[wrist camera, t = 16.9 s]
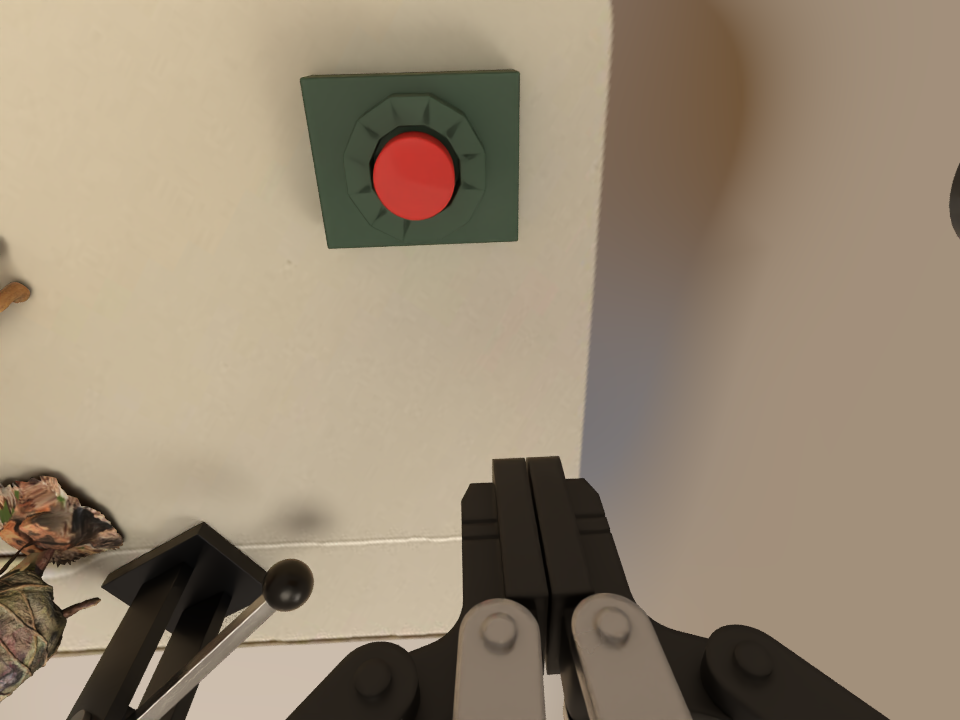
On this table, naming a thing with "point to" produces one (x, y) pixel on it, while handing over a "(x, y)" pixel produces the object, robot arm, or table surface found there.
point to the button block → (424, 108)
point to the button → (414, 176)
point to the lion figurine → (13, 294)
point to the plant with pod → (41, 571)
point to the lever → (232, 635)
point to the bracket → (167, 617)
